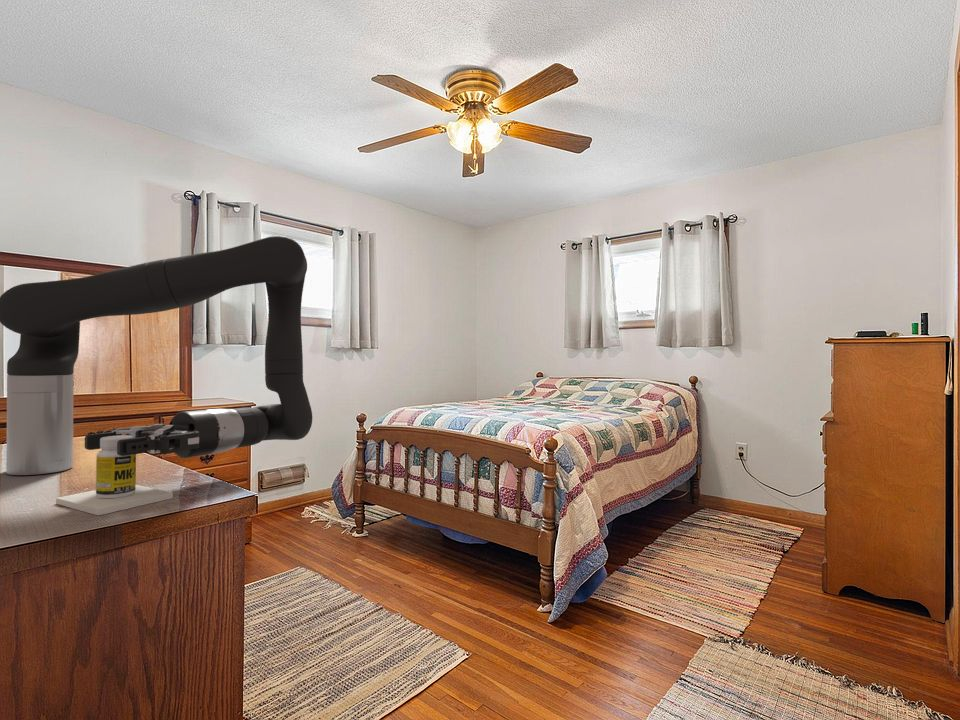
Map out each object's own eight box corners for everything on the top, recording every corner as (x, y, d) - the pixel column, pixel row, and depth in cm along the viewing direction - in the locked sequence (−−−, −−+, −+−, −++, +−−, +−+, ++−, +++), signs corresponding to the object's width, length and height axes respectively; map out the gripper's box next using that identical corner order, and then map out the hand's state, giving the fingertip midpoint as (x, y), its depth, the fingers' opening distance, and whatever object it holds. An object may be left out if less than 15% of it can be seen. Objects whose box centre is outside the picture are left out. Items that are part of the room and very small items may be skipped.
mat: (56, 503, 75) (56, 497, 75) (130, 488, 84) (130, 483, 84) (98, 515, 70) (98, 509, 70) (172, 498, 79) (172, 492, 79)
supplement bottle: (115, 500, 74) (115, 440, 74) (87, 498, 75) (87, 438, 75) (143, 491, 79) (144, 435, 79) (116, 489, 80) (117, 434, 80)
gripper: (181, 407, 93) (75, 415, 78) (235, 412, 86) (130, 422, 72) (181, 449, 93) (75, 466, 78) (235, 458, 86) (130, 477, 72)
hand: (101, 445), depth 75 cm, fingers open, 8 cm apart
